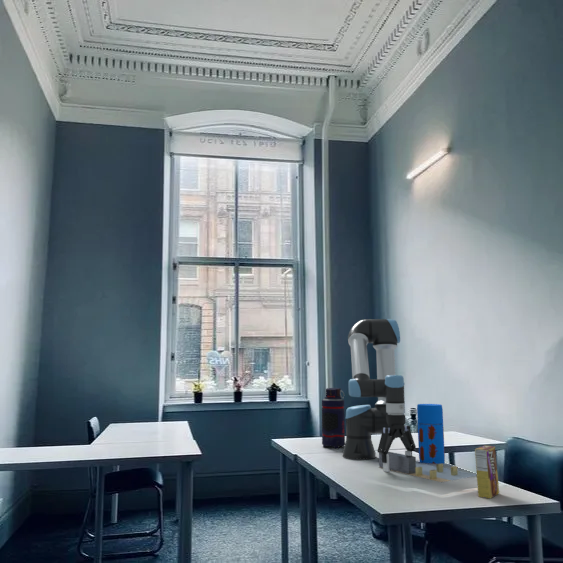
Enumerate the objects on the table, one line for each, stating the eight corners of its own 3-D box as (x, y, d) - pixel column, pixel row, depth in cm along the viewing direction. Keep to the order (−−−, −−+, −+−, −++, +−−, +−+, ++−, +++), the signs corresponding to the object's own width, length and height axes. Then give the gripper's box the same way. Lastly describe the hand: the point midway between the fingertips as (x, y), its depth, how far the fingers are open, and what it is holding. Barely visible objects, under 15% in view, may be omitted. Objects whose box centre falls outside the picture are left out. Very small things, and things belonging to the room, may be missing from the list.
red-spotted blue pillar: (446, 466, 219) (443, 405, 223) (420, 465, 222) (417, 405, 225) (443, 461, 230) (440, 404, 234) (418, 461, 232) (416, 403, 236)
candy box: (486, 491, 176) (483, 445, 179) (499, 493, 174) (496, 446, 176) (476, 496, 170) (474, 448, 172) (490, 499, 167) (487, 449, 169)
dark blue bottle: (338, 449, 263) (337, 388, 268) (318, 447, 269) (317, 388, 274) (350, 445, 275) (349, 387, 279) (330, 443, 281) (329, 387, 286)
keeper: (415, 475, 197) (415, 467, 198) (440, 471, 205) (440, 463, 206) (432, 479, 191) (432, 470, 191) (457, 474, 199) (457, 466, 199)
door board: (378, 470, 212) (378, 467, 212) (415, 464, 224) (415, 461, 224) (442, 485, 186) (442, 482, 186) (480, 477, 198) (480, 475, 198)
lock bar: (379, 467, 213) (378, 452, 214) (386, 466, 215) (385, 451, 216) (409, 474, 200) (408, 457, 200) (416, 473, 202) (415, 456, 203)
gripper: (380, 416, 201) (382, 474, 197) (423, 412, 214) (425, 467, 211) (367, 414, 207) (368, 471, 204) (409, 411, 220) (411, 464, 217)
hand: (397, 469), depth 207 cm, fingers open, 12 cm apart
